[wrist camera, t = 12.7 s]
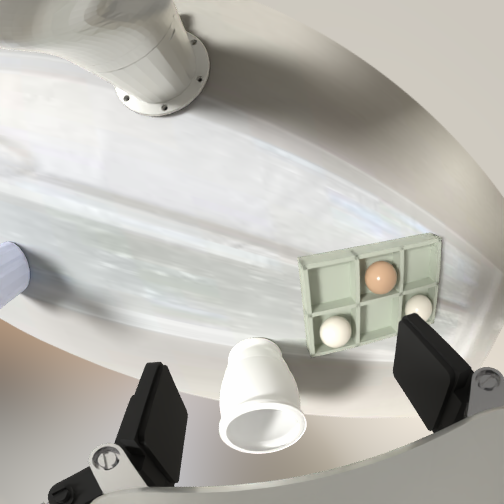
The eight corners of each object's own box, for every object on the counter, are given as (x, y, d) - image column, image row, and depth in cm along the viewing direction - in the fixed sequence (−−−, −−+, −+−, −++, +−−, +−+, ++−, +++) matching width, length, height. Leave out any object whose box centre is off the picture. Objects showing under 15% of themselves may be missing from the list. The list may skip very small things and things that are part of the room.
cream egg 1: (315, 313, 41) (323, 330, 36) (345, 307, 41) (356, 322, 36) (317, 339, 42) (324, 357, 38) (345, 332, 42) (355, 349, 38)
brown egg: (359, 259, 39) (372, 271, 34) (387, 253, 39) (403, 264, 34) (359, 289, 40) (372, 303, 36) (387, 282, 40) (401, 296, 36)
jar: (229, 324, 42) (228, 397, 27) (297, 336, 43) (320, 407, 29) (216, 377, 45) (211, 449, 30) (276, 386, 46) (289, 456, 32)
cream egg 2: (400, 293, 41) (415, 306, 36) (423, 286, 41) (439, 298, 36) (398, 318, 42) (412, 333, 38) (421, 311, 42) (435, 324, 38)
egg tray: (297, 257, 39) (302, 265, 36) (429, 232, 39) (441, 237, 36) (306, 345, 44) (311, 357, 41) (424, 314, 44) (433, 322, 41)
